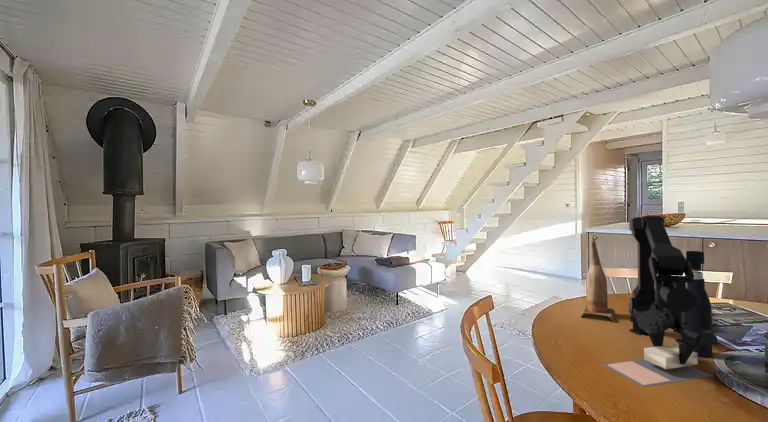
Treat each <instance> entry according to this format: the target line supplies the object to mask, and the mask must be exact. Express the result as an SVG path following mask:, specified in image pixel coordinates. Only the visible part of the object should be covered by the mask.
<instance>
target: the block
mask: <svg viewBox="0 0 768 422" xmlns="http://www.w3.org/2000/svg"><path fill="white" fill-rule="evenodd" d="M698 358H699V357H698V354H697V353H696V352H694V351H693V352H692V354H691V355H690V357H689V358H688V360H687V361H686V363H685V364H680V359H679V344H676V343H670V344H665V345H664V344H663V346H656V347H654V346H650V347H644V348H643V359H645V360H647V361H649V362H651V363H654V364H656V365H658V366H660V367H662V368H664V369H671V368H678V367H684V366H691V367H692V366H695V365H698V364H699V362H698Z"/></svg>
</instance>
